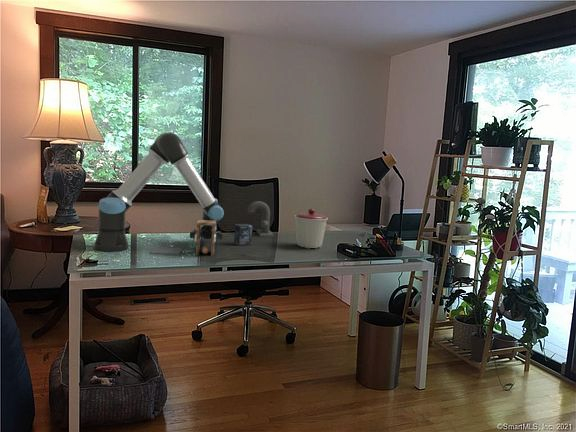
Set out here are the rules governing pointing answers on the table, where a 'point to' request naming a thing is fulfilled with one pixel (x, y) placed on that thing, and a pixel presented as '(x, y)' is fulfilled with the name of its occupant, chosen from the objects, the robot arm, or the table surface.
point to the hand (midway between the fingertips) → (205, 239)
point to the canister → (310, 229)
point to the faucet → (265, 219)
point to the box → (243, 234)
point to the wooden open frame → (199, 222)
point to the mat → (166, 251)
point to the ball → (205, 250)
